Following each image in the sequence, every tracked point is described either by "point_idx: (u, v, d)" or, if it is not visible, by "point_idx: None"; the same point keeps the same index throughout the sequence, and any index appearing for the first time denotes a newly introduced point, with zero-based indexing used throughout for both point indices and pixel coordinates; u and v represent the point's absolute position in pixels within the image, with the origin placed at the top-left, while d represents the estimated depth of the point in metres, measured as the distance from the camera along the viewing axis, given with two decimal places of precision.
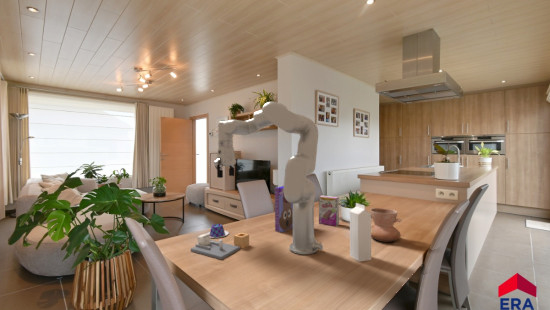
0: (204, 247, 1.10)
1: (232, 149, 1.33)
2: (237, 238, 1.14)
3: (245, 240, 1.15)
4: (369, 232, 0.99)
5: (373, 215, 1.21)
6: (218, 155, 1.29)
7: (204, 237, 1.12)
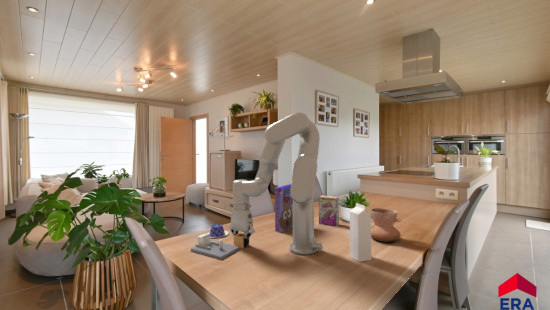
0: (204, 247, 1.10)
1: None
2: (237, 238, 1.14)
3: None
4: (369, 232, 0.99)
5: (373, 215, 1.21)
6: (248, 220, 1.13)
7: (204, 237, 1.12)
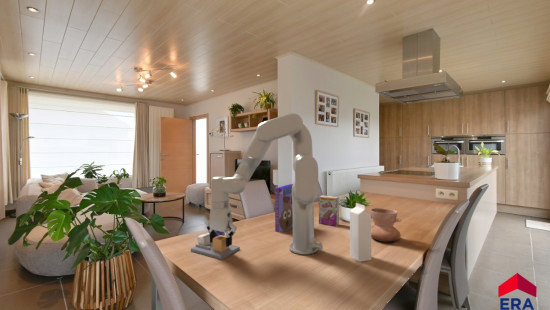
0: (204, 247, 1.10)
1: None
2: (216, 241, 1.07)
3: (224, 243, 1.08)
4: (369, 232, 0.99)
5: (373, 215, 1.21)
6: (227, 219, 1.06)
7: (204, 237, 1.12)
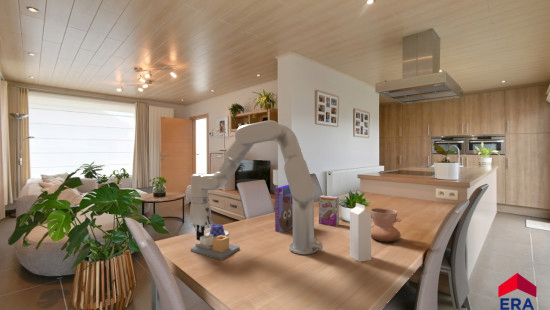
0: (204, 247, 1.10)
1: None
2: (216, 241, 1.07)
3: (224, 243, 1.08)
4: (369, 232, 0.99)
5: (373, 215, 1.21)
6: (206, 214, 1.12)
7: (206, 238, 1.11)
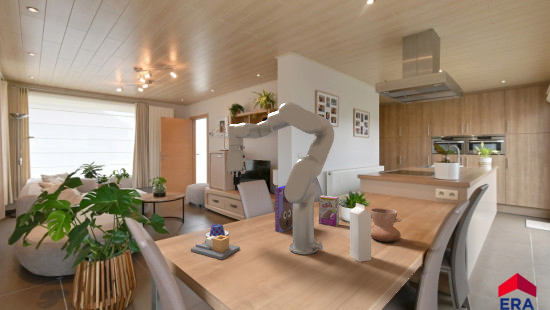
0: (204, 247, 1.10)
1: None
2: (216, 241, 1.07)
3: (224, 243, 1.08)
4: (369, 232, 0.99)
5: (373, 215, 1.21)
6: (242, 160, 1.24)
7: None
